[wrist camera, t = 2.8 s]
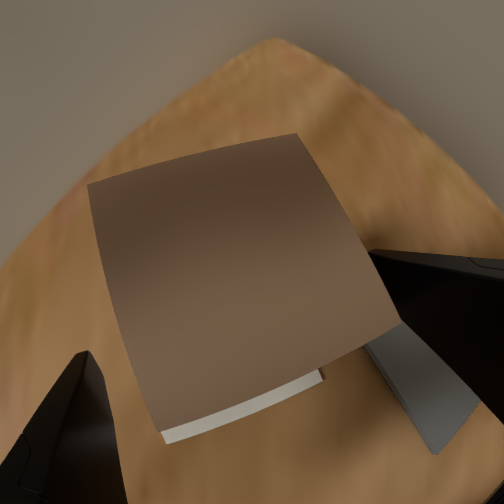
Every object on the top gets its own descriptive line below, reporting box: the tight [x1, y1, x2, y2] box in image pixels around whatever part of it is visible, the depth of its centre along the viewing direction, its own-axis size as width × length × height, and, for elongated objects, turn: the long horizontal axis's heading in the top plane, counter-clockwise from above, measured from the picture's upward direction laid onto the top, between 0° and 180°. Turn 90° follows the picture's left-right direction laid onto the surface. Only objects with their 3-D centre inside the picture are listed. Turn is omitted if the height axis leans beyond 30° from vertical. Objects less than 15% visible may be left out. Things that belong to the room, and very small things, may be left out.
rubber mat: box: [363, 320, 481, 455], centre depth 18 cm, size 10×10×1 cm
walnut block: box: [87, 133, 402, 432], centre depth 12 cm, size 6×6×11 cm
